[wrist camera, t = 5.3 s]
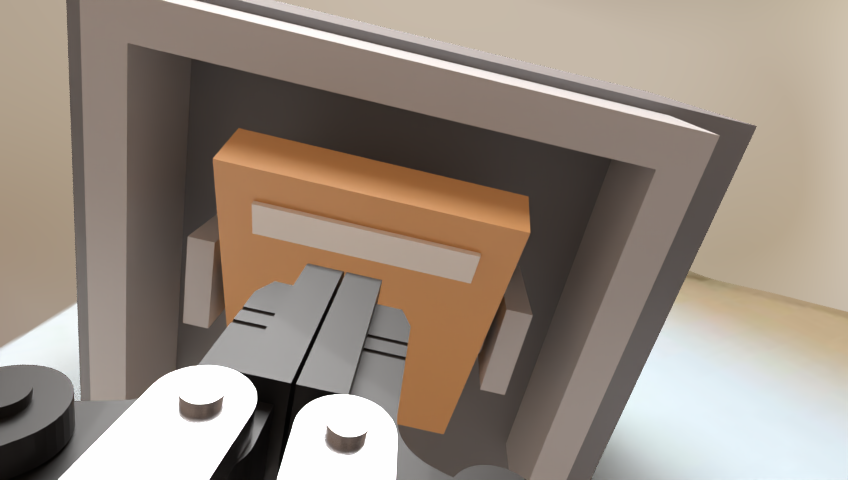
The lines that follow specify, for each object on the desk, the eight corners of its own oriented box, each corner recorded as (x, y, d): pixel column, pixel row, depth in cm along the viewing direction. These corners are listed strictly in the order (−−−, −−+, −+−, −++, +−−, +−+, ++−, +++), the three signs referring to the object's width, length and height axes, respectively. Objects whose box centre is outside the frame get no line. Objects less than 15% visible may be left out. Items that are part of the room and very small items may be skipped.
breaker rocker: (449, 397, 21) (532, 197, 14) (445, 438, 19) (534, 237, 13) (246, 352, 20) (234, 127, 14) (227, 390, 19) (206, 160, 13)
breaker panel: (538, 381, 32) (648, 91, 26) (588, 601, 20) (830, 149, 13) (190, 303, 32) (209, -16, 25) (18, 480, 19) (-38, -62, 12)
